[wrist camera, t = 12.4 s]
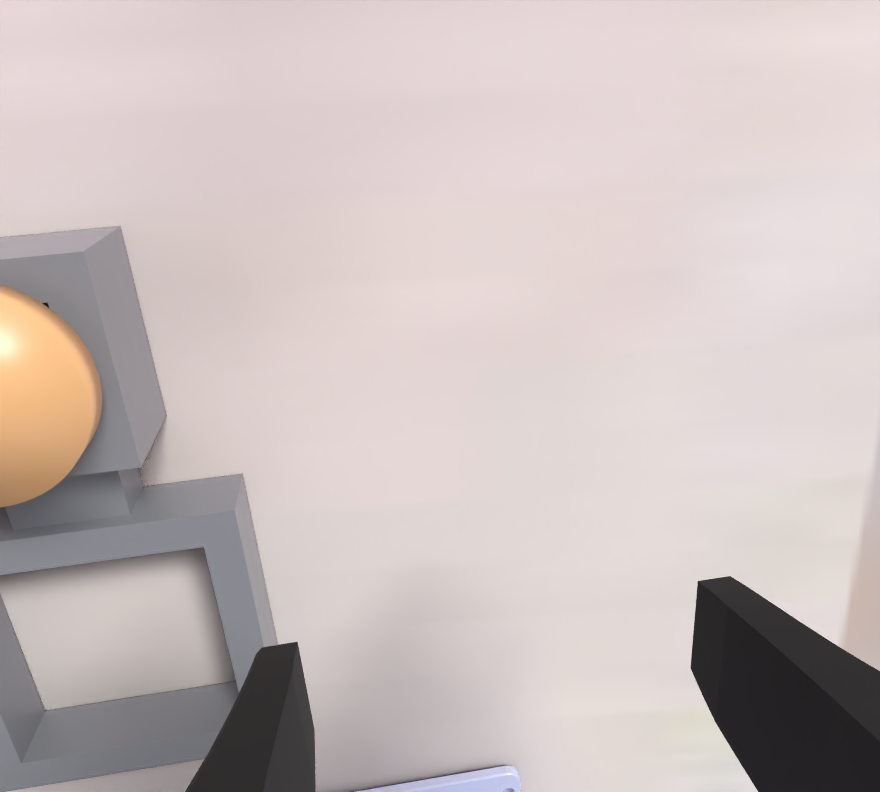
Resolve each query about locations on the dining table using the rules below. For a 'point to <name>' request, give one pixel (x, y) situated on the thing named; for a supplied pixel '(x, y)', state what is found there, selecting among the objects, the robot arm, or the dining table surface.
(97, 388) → the plunger
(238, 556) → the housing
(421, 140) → the dining table surface
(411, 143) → the dining table surface
